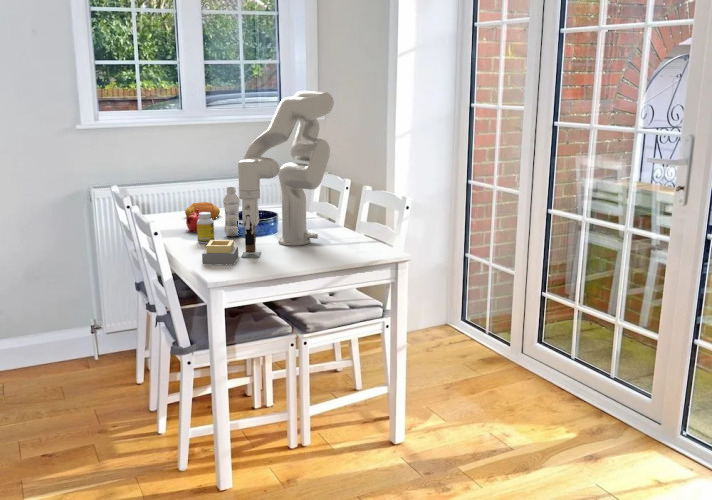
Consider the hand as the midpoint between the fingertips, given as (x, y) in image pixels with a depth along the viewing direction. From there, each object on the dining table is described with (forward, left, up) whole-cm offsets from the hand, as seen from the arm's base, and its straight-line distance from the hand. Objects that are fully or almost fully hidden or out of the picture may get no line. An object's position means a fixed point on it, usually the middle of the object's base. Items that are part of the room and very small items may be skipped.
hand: (250, 243), depth 260 cm
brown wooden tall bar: (0, 0, -3) cm, 3 cm away
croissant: (+31, -67, -5) cm, 74 cm away
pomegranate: (+27, -41, -5) cm, 49 cm away
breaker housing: (+10, +7, -5) cm, 13 cm away
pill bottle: (+20, -21, -5) cm, 29 cm away
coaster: (0, 0, -5) cm, 5 cm away
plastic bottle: (+11, -31, -5) cm, 33 cm away
